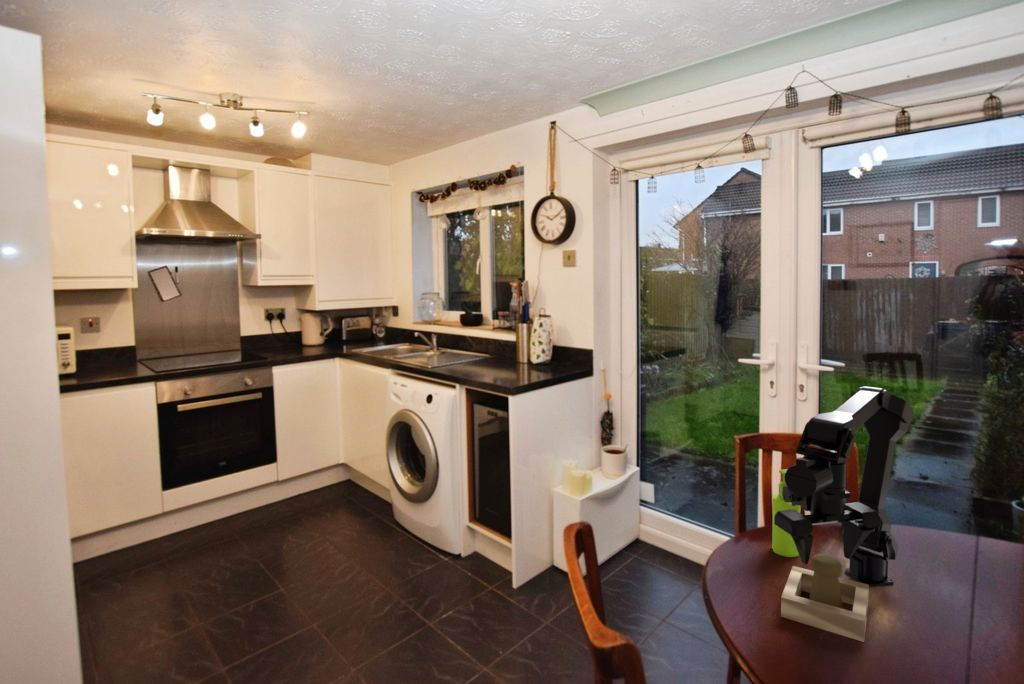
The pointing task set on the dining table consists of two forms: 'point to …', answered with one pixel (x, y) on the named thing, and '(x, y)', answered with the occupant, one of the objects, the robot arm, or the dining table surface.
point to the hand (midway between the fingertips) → (825, 560)
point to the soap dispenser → (780, 538)
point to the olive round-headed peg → (826, 580)
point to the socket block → (824, 614)
